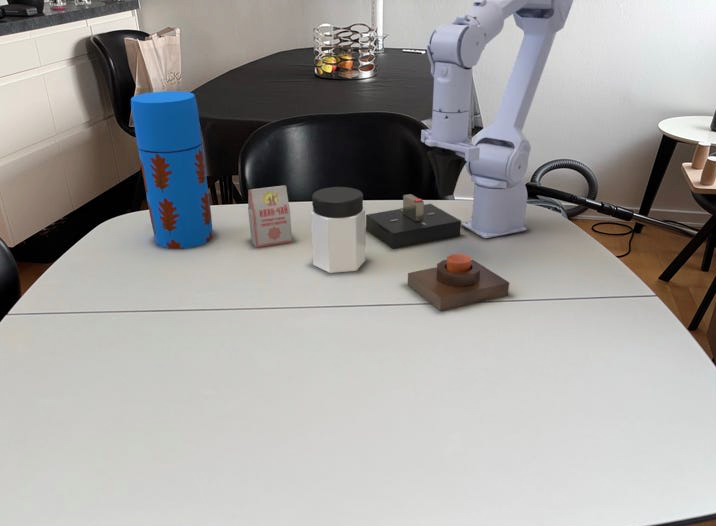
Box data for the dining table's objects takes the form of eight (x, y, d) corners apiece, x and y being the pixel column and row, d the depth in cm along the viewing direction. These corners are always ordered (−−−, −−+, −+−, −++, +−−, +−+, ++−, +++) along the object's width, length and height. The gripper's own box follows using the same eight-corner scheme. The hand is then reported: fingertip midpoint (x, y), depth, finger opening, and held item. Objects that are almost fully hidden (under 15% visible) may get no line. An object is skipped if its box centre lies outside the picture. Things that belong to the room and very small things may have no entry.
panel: (429, 218, 135) (430, 202, 133) (460, 236, 126) (461, 219, 124) (365, 229, 130) (365, 213, 128) (392, 249, 121) (393, 232, 120)
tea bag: (251, 240, 126) (245, 187, 121) (286, 235, 128) (282, 182, 123) (256, 247, 123) (250, 193, 118) (292, 242, 125) (288, 188, 120)
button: (461, 262, 107) (462, 252, 106) (474, 271, 104) (475, 260, 103) (442, 267, 105) (442, 256, 104) (454, 275, 102) (455, 264, 102)
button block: (471, 271, 112) (473, 248, 110) (508, 295, 105) (510, 271, 102) (407, 285, 108) (408, 262, 106) (440, 311, 100) (441, 286, 98)
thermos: (200, 250, 122) (179, 103, 109) (144, 247, 124) (117, 102, 111) (222, 229, 131) (205, 91, 118) (170, 226, 133) (148, 90, 120)
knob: (402, 213, 128) (403, 193, 126) (410, 212, 129) (410, 192, 127) (415, 222, 124) (416, 201, 122) (423, 220, 125) (424, 200, 123)
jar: (326, 251, 121) (324, 183, 115) (370, 256, 119) (370, 188, 112) (306, 270, 114) (303, 200, 108) (352, 276, 111) (351, 205, 105)
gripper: (406, 103, 111) (403, 186, 118) (453, 120, 100) (448, 210, 107) (443, 100, 114) (439, 181, 121) (494, 115, 102) (486, 204, 109)
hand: (445, 194), depth 114 cm, fingers closed
